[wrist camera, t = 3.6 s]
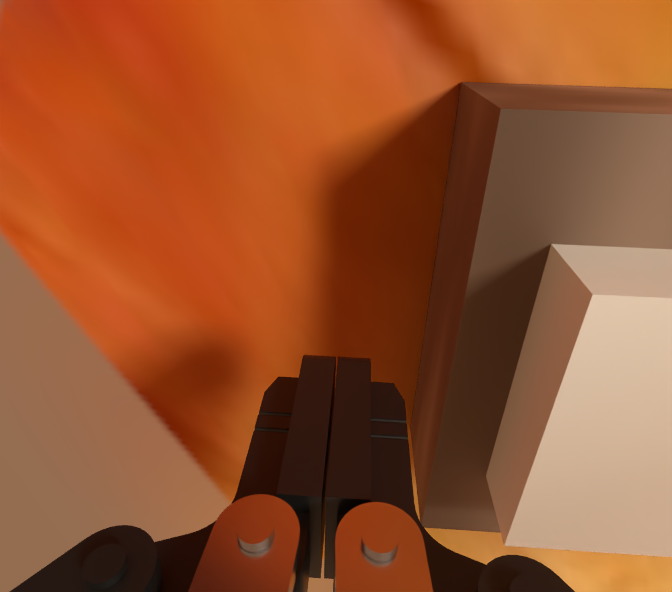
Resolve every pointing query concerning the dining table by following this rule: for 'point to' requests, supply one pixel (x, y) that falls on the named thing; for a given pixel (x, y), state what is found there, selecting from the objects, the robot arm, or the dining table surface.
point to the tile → (591, 408)
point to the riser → (521, 255)
